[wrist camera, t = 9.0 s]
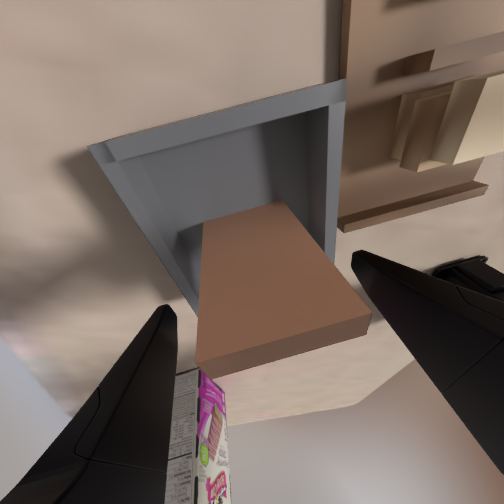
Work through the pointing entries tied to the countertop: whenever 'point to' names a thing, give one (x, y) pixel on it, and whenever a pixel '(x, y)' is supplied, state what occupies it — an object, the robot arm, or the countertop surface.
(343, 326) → the slat
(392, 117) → the rack
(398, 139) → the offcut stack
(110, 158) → the tray
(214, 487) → the candy bar box
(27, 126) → the countertop surface
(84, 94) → the countertop surface
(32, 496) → the robot arm
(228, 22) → the countertop surface
